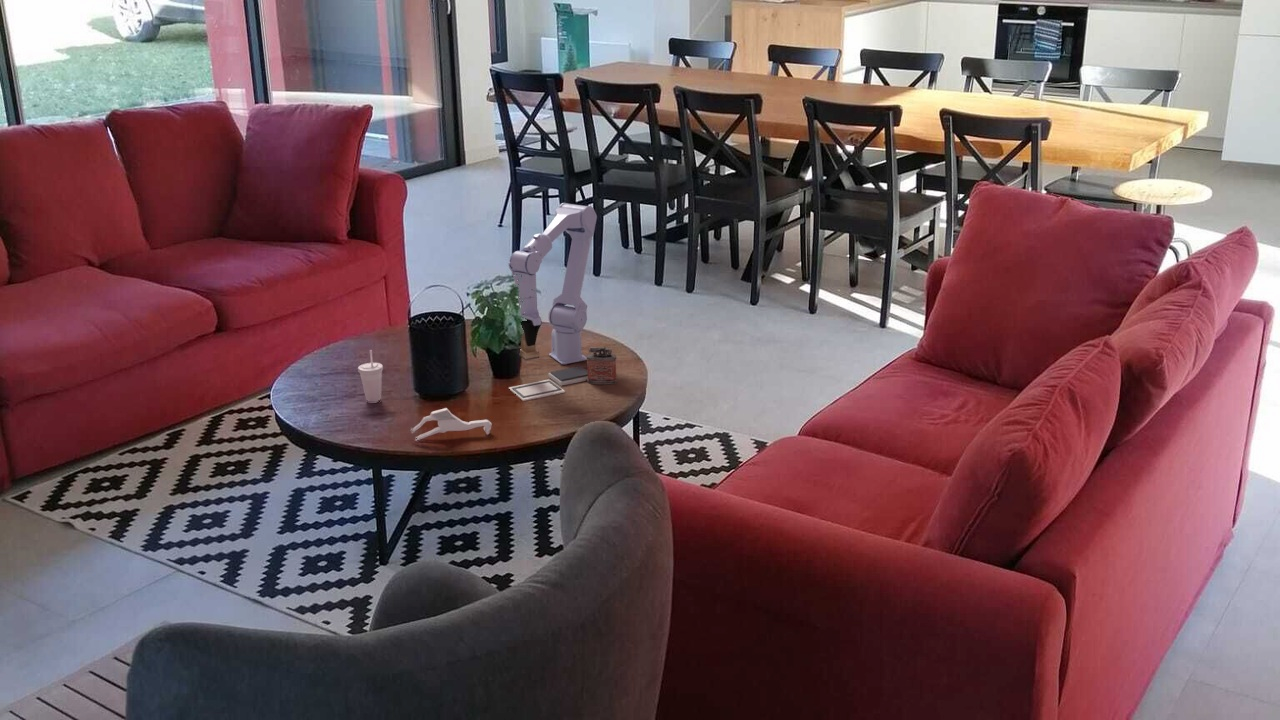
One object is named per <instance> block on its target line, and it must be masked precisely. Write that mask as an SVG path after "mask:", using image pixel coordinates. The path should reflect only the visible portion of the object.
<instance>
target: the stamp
mask: <svg viewBox="0 0 1280 720" xmlns="http://www.w3.org/2000/svg"><path fill="white" fill-rule="evenodd" d="M521 339H522V340H521ZM520 348H521V349H520V353H519V355H518V356H519V357H520V358H521V359H523V360H524V361H530V360H534V359H540V351H539V350H538V349H537V348H536V344H535V345H533V346H527V343H526V339H525V333H523V337H522V338H520Z"/></svg>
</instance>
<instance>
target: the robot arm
mask: <svg viewBox="0 0 1280 720" xmlns="http://www.w3.org/2000/svg"><path fill="white" fill-rule="evenodd" d="M597 219H598V215H597V213H596V211H595V209H594V207H592V206H591V205H579V204H573V203H567V202H562V203H560V204H559V206H558V207H557V208H556V209H555V212H554V218H553V219H552V221H551V222H550V223H549V225H548V226H547V227H546V228H545V229H544V231H543V232H541V233H535V234H534V235H533V236H532V237H531V239H530V240H529V241H528V242H527V243H526V245H524V246H523V247H522V249H520V250H516V251H513V253H512V254H511V256H510V257H509V262H508V267H509V270H510V271H511V277H512V276H513V275H516V274H522V277H521V275H516V276H513V277H512V278H513V280H514V286H515V285H517V286H518V287H519V290H520V292H519V296H520V298H519V296H518V300H519V307H520V303H521V309H520V313H521V316H522V318H525V319H527V321H522V322H521V325H522V328H523V330H524V333H525V339H526V343H527V346H533V345H535V346H536V343H537V337H538V333H539V331H540V328H541V326H542V324H543V321H542V317H541V316H540V313H539V309H538V293H537V292H538V291H537V273H538V271H539V270H540V267H541V264H542V261H543V259H544V258H545V256H547V254H548V253H549V252H550V251H551V250H552V248H553V242H554V241H555V240H556V239H557V238H559V236H561V235H562V234H563V233H564V232H566V233H567V234H569V236H570V238H571V242H570V243H571V245H570V249H569V253H568V259H567V264H566V270H565V273H564V274H565V275H564V279H563V284H562V291H561V294H559V295H557V296H556V297H555V298H554V299H553V301H552V304H551V307H550V308H549V311H548V315H547V317H548V321H549V324H550V325H551V326H552V330H551V335H550V336H551V337H550V338H551V341H550V342H551V352H550V353H548V356H550V357H551V358H552V359H554V360H555V361H556V362H557V363H560V364H561V365H568V364H574V363H578V362H582V361H583V362H585V361H587V356H585V355H584V354H582V353H583V351H582V330H584V328H585V327H586V324H587V320H588V315H587V314H588V313H587V311H588V309H587V308H588V305H587V303H586V302H585V301H584V300H583V298H582V297H581V294H582V290H583V286H584V285H583V284H584V278H585V274H586V267H587V263H588V258H589V253H590V247H591V242H592V237H594V234H595V230H596V224H597ZM518 279H520V280H519V281H517V280H518ZM518 284H519V285H520V286H519V285H518ZM531 289H533V290H535V291H532V290H531ZM536 291H537V292H536ZM521 294H522V296H523V299H522V296H521ZM520 300H521V302H520ZM522 300H523V301H524V304H523V301H522ZM522 307H523V308H522ZM524 312H525V313H524ZM522 314H524V315H522ZM526 314H527V315H526Z"/></svg>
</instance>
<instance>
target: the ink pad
mask: <svg viewBox="0 0 1280 720" xmlns="http://www.w3.org/2000/svg"><path fill="white" fill-rule="evenodd" d="M547 374H548V376H547V377H548V378H549V379H550V380H551V381H553V382H554V383H555V384H557V385H558V386H559V387H562V386H566V385H572V384H576V383H581V382H585V381H586V382H587V378H588V369H585V368H584V367H583V366H581V365H578V366H572V367H569V368H564V369H562V368H561V369H558V370H553V371H550V372H548V373H547Z"/></svg>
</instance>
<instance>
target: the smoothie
mask: <svg viewBox="0 0 1280 720" xmlns="http://www.w3.org/2000/svg"><path fill="white" fill-rule="evenodd" d="M369 356H370V362H367V363H366V362H365V363H362V364H361V365H359V366H358V367H357V372H358V373H359V375H360V379H361V383H362V384H361V385H362V388H363V392H364V396H365V401H366V400H368V401H378V400H380V399H381V400H382V386H383V385H382V382H383V381H382V380H383V370H384V366H383V364H382V363H381V362H374V359H373V349H369Z"/></svg>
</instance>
